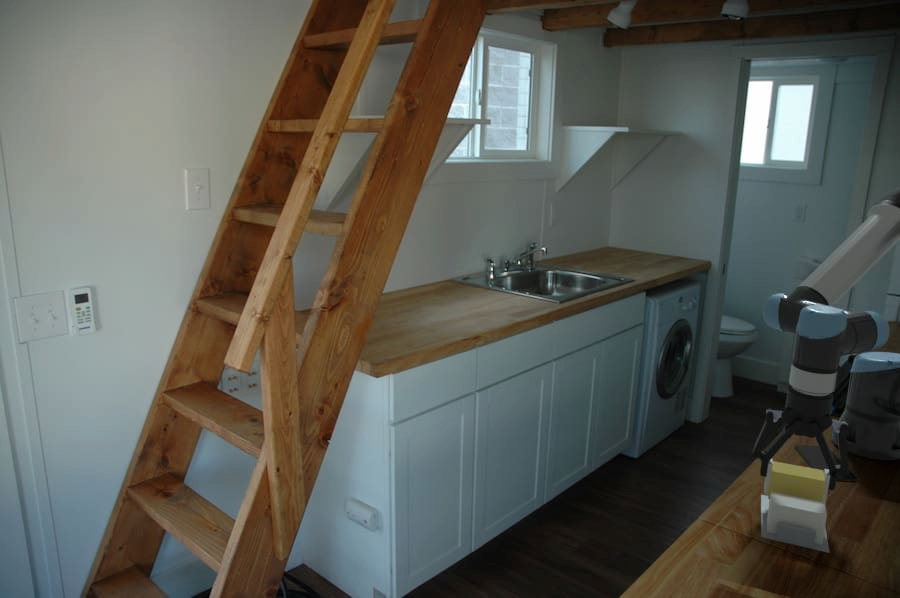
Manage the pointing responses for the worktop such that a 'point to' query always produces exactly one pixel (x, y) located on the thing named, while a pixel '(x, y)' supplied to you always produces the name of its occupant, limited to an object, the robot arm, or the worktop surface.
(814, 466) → the smartphone
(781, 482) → the butter stick brick
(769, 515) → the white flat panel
